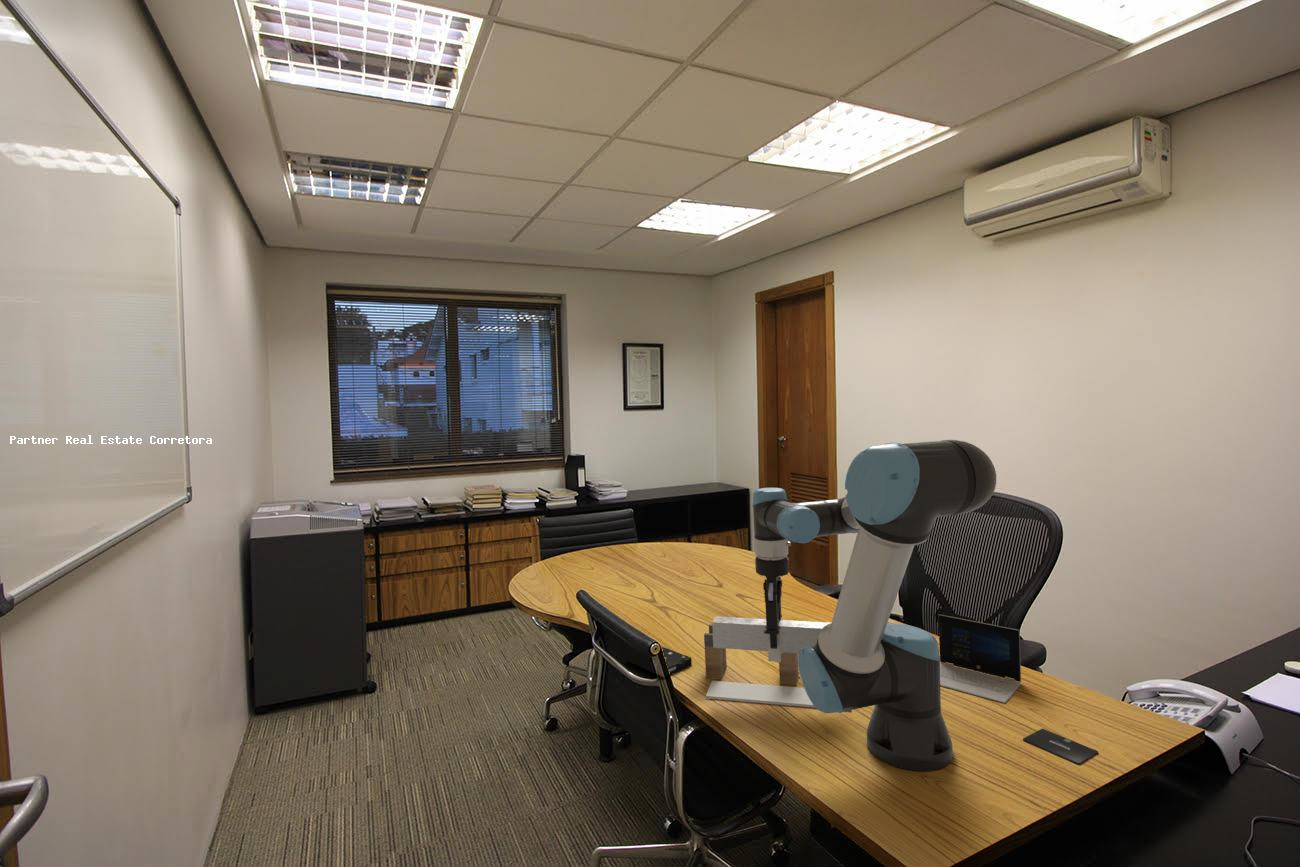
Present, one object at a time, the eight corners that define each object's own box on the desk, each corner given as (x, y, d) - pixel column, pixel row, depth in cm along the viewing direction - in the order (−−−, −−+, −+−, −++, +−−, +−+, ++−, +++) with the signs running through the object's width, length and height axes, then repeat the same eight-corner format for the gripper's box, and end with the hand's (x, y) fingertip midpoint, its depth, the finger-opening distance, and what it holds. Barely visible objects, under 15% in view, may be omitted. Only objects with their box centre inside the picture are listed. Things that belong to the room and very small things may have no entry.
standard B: (722, 679, 151) (720, 635, 150) (706, 678, 152) (704, 634, 152) (726, 667, 158) (724, 625, 157) (711, 666, 159) (709, 624, 158)
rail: (839, 656, 135) (838, 629, 134) (713, 647, 143) (712, 622, 142) (838, 649, 139) (837, 623, 138) (716, 641, 146) (715, 616, 146)
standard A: (797, 685, 146) (795, 639, 145) (779, 683, 147) (777, 638, 146) (798, 672, 153) (796, 628, 152) (782, 671, 154) (780, 628, 153)
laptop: (920, 682, 145) (918, 628, 144) (940, 665, 154) (938, 613, 153) (1005, 706, 132) (1003, 646, 132) (1021, 685, 141) (1020, 629, 140)
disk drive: (692, 667, 160) (654, 652, 171) (692, 657, 160) (654, 642, 171) (664, 680, 153) (626, 663, 164) (663, 669, 153) (625, 653, 164)
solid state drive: (1042, 731, 121) (1042, 728, 121) (1099, 755, 113) (1099, 751, 113) (1022, 742, 118) (1022, 738, 118) (1079, 767, 109) (1079, 763, 109)
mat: (851, 711, 132) (851, 708, 132) (705, 698, 141) (705, 695, 141) (850, 694, 140) (850, 691, 140) (712, 683, 149) (712, 680, 149)
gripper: (786, 566, 130) (789, 674, 131) (790, 547, 147) (794, 643, 148) (750, 565, 132) (754, 671, 134) (759, 546, 149) (762, 641, 150)
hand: (775, 656), depth 141 cm, fingers closed on rail, 4 cm apart
